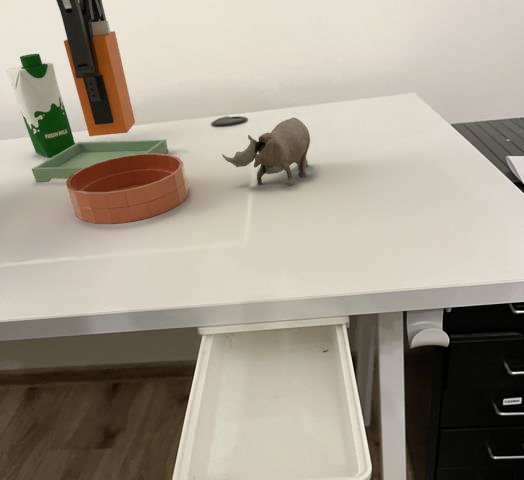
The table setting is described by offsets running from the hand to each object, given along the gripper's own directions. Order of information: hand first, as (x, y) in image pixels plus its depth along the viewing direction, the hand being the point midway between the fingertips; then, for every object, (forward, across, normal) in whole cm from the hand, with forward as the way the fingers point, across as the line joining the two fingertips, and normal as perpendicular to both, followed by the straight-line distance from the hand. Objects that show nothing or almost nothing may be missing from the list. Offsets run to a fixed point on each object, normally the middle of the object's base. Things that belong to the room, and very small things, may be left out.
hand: (109, 117), depth 86 cm
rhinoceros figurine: (+14, +5, -26) cm, 29 cm away
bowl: (+14, 0, 0) cm, 14 cm away
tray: (+14, +24, +11) cm, 30 cm away
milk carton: (+15, +39, +26) cm, 49 cm away
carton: (+2, 0, 0) cm, 2 cm away
